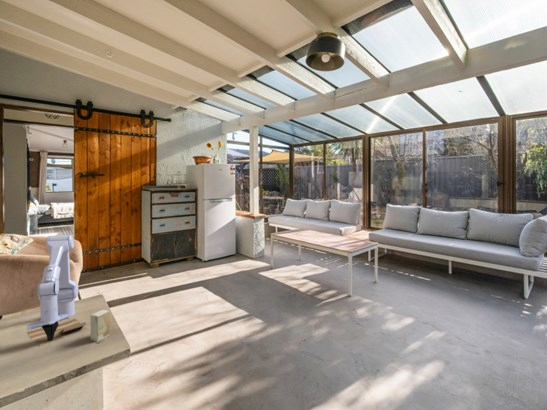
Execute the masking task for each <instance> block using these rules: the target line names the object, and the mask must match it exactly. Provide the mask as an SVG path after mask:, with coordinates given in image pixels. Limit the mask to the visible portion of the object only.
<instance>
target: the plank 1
mask: <svg viewBox="0 0 547 410" xmlns="http://www.w3.org/2000/svg"><path fill="white" fill-rule="evenodd" d="M61 339H64V336H63V335H62V334H61V333H60V332H57V333H55V334H54V337H53V340H52V341H48V339H47V336H44V337H41V338H38V339H35V340H34V342H36V344H37V345H38V347H41V346H44V345H46V344H50V343H52V342H55V341H58V340H61Z"/></svg>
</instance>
